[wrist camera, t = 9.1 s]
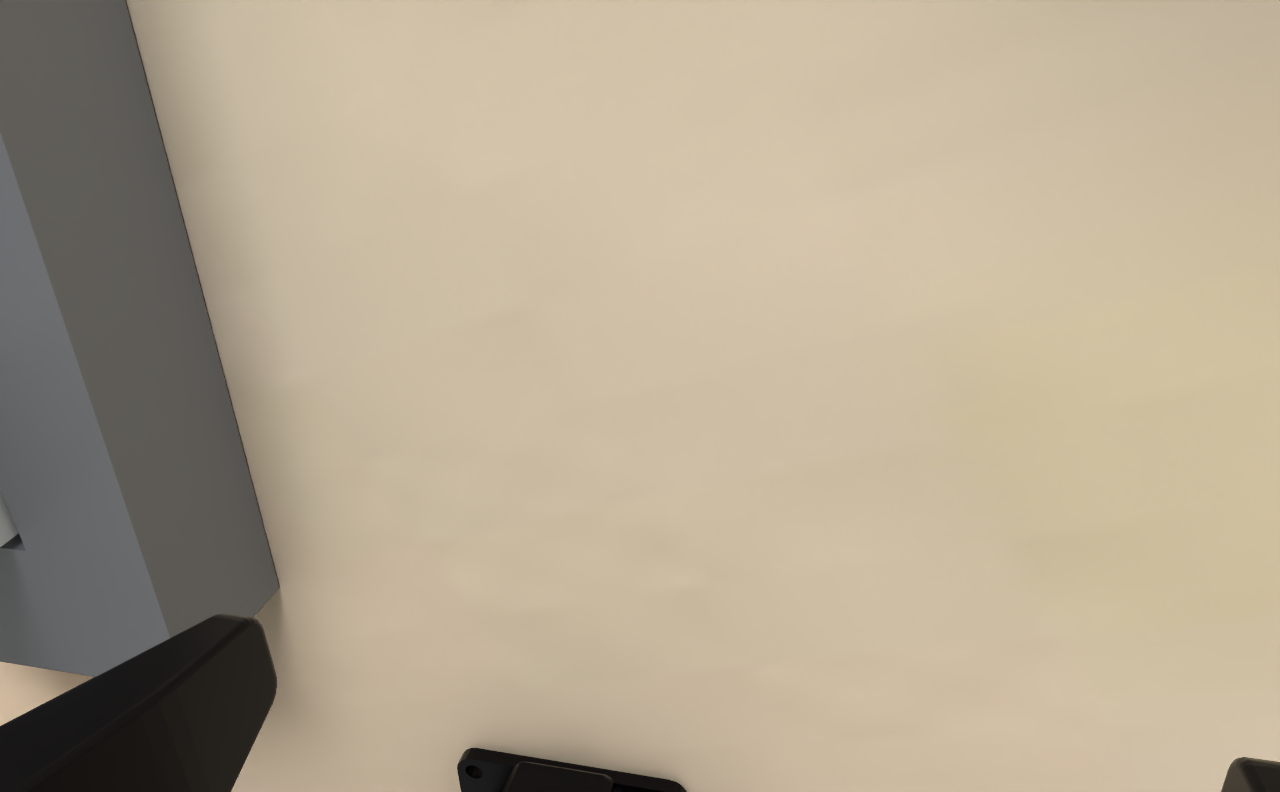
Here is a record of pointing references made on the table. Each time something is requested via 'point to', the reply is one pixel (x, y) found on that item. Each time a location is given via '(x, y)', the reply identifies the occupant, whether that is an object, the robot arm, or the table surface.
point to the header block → (106, 365)
